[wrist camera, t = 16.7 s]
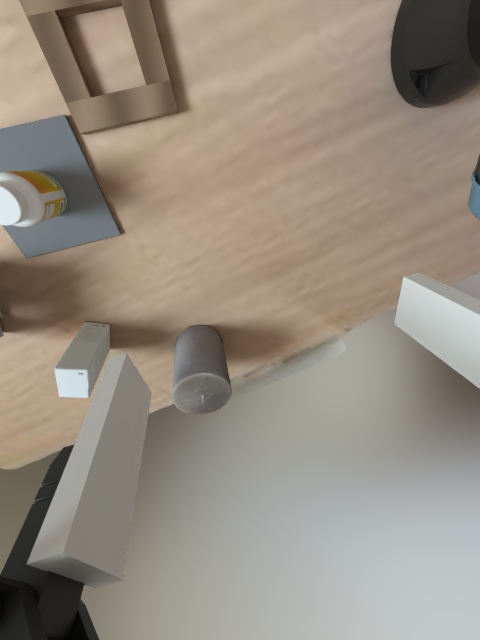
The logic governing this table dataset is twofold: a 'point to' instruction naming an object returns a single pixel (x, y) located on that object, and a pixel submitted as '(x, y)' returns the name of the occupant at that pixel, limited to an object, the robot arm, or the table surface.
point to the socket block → (87, 111)
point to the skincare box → (83, 361)
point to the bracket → (0, 333)
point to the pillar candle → (200, 371)
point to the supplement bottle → (29, 198)
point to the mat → (73, 176)
